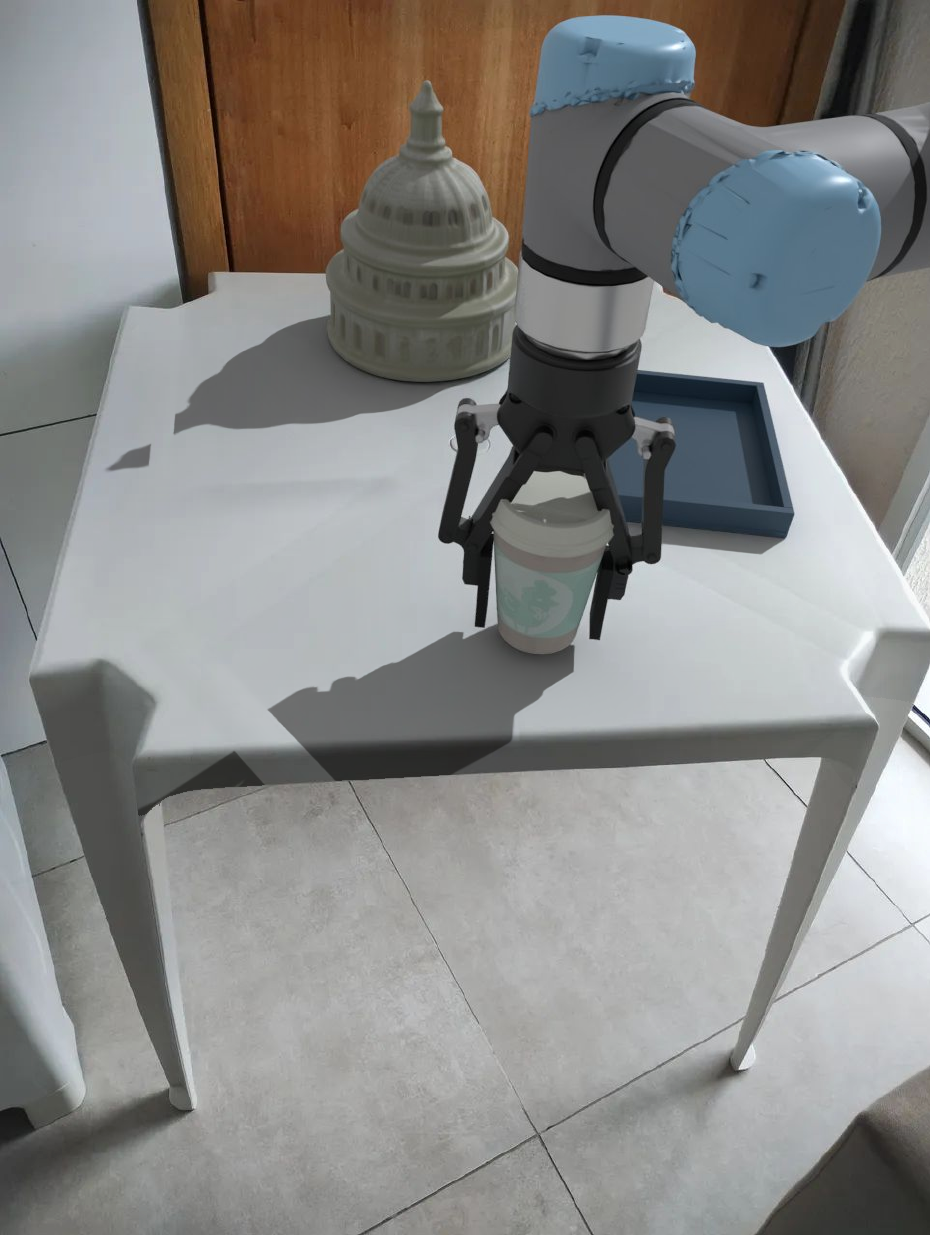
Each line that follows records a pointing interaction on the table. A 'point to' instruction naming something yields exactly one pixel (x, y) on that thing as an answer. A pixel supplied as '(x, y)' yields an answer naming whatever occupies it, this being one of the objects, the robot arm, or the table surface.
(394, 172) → the dome
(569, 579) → the coffee cup
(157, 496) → the table surface
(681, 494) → the tray
